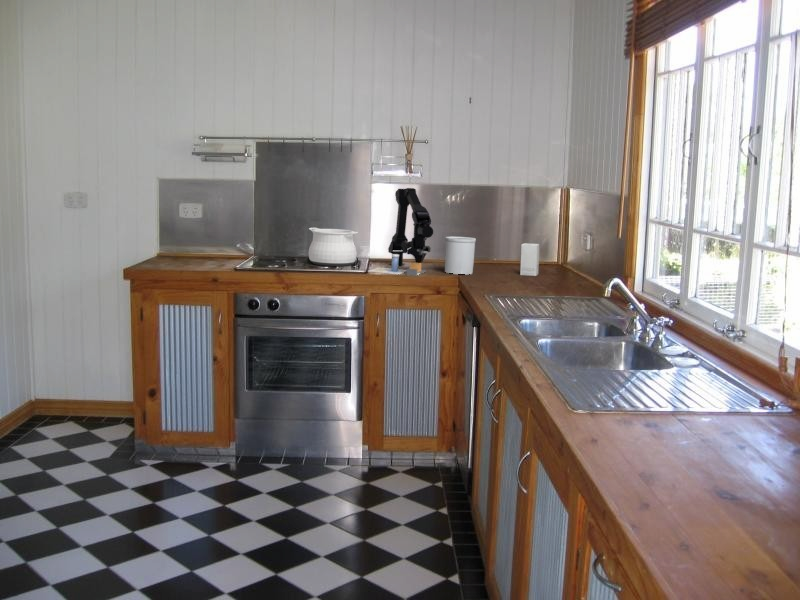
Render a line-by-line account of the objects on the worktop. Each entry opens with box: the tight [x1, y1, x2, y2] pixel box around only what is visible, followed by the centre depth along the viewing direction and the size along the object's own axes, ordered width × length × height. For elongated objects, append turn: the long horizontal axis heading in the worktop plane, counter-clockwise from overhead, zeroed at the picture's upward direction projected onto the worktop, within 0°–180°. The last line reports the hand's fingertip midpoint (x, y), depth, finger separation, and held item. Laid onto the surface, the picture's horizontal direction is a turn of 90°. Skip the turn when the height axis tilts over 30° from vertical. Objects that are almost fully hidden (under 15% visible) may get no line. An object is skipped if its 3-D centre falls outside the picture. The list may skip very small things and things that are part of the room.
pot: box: [308, 227, 359, 267], centre depth 449 cm, size 28×24×17 cm
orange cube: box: [409, 261, 422, 272], centre depth 426 cm, size 4×4×4 cm
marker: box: [390, 253, 399, 272], centre depth 428 cm, size 3×3×8 cm
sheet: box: [367, 267, 407, 275], centre depth 431 cm, size 15×16×1 cm
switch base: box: [406, 268, 427, 277], centre depth 427 cm, size 14×5×3 cm, turn 160°
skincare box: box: [519, 242, 540, 277], centre depth 439 cm, size 8×7×16 cm
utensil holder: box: [444, 236, 477, 276], centre depth 435 cm, size 15×15×18 cm
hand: (418, 267), depth 429 cm, fingers closed
